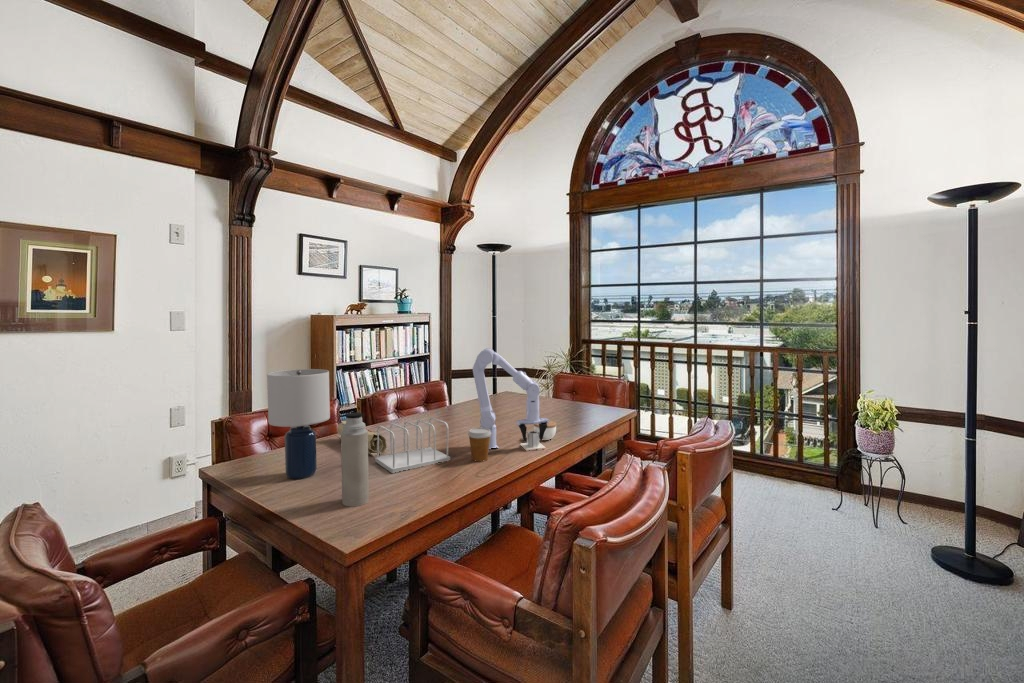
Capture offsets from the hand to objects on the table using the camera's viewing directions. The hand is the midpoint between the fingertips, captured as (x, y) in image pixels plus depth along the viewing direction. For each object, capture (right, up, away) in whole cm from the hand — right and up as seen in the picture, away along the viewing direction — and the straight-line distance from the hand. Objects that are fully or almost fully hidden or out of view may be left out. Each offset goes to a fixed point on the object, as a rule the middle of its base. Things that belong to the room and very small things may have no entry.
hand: (532, 440), depth 201 cm
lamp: (-87, -6, -35) cm, 94 cm away
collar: (0, -2, 0) cm, 2 cm away
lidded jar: (+7, -3, +14) cm, 16 cm away
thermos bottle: (-59, -7, -58) cm, 83 cm away
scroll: (-77, -4, +1) cm, 78 cm away
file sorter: (-49, -5, -19) cm, 53 cm away
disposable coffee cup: (-22, -5, -16) cm, 28 cm away
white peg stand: (0, -3, 0) cm, 3 cm away
